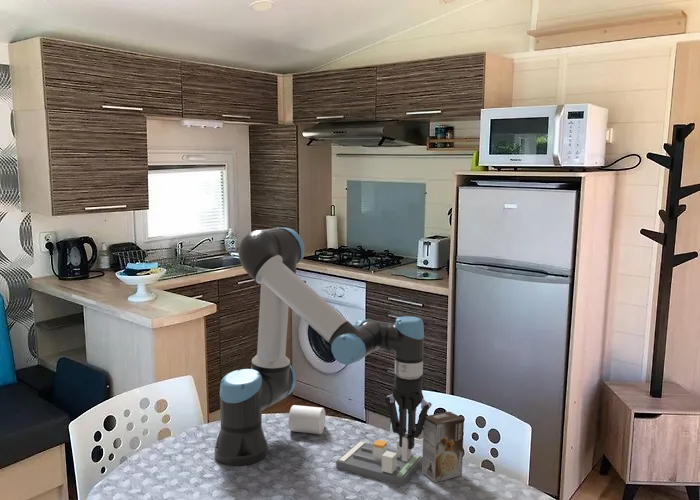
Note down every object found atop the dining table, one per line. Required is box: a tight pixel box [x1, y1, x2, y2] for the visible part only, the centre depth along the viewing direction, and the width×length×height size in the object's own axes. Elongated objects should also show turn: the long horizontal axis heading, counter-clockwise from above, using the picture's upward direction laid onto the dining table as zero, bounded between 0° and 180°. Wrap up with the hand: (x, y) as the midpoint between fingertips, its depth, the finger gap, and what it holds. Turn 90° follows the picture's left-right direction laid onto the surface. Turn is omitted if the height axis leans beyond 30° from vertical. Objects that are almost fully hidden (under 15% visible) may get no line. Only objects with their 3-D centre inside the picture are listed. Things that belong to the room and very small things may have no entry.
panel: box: [335, 441, 422, 487], centre depth 163 cm, size 20×14×3 cm
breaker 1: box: [382, 451, 397, 474], centre depth 156 cm, size 3×3×4 cm
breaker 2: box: [396, 438, 402, 456], centre depth 165 cm, size 3×3×4 cm
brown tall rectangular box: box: [421, 411, 465, 483], centre depth 158 cm, size 9×6×16 cm
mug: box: [287, 404, 326, 435], centre depth 186 cm, size 12×10×8 cm
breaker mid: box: [372, 439, 388, 461], centre depth 163 cm, size 3×3×4 cm
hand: (406, 458), depth 159 cm, fingers closed
